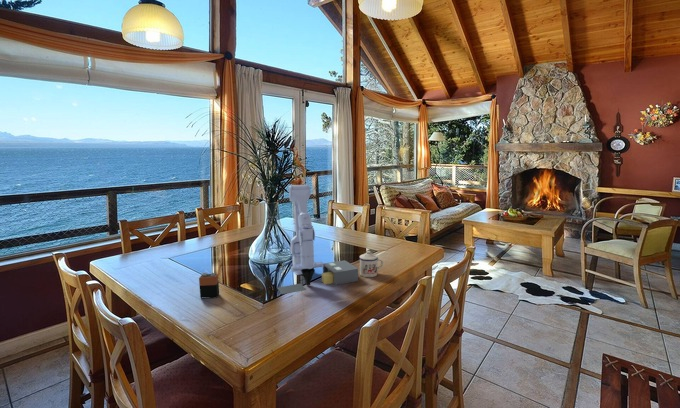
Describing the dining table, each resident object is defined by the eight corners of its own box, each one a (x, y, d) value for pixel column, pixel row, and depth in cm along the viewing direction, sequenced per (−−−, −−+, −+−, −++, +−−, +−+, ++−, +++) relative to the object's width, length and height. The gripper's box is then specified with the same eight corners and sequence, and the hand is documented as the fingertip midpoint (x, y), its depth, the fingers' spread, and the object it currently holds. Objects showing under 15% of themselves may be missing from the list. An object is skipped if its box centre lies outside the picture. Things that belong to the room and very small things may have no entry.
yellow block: (321, 282, 159) (321, 273, 158) (337, 279, 162) (337, 270, 162) (325, 285, 156) (325, 276, 155) (341, 282, 159) (341, 273, 158)
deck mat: (276, 288, 152) (276, 287, 152) (300, 284, 157) (300, 283, 157) (281, 295, 145) (281, 294, 145) (306, 290, 150) (306, 289, 150)
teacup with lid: (362, 278, 163) (362, 254, 162) (357, 272, 172) (357, 249, 170) (386, 276, 166) (386, 252, 164) (379, 270, 175) (380, 247, 173)
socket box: (322, 275, 168) (322, 263, 167) (345, 271, 173) (345, 259, 172) (334, 285, 155) (334, 272, 155) (358, 280, 160) (358, 268, 159)
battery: (203, 294, 147) (201, 272, 145) (219, 293, 147) (218, 271, 146) (200, 298, 142) (198, 275, 141) (217, 298, 143) (215, 274, 142)
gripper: (294, 259, 145) (295, 290, 147) (325, 255, 151) (326, 284, 153) (289, 255, 152) (290, 284, 154) (319, 251, 158) (320, 279, 160)
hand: (307, 284), depth 154 cm, fingers closed
